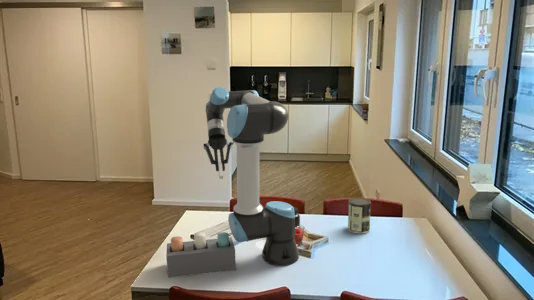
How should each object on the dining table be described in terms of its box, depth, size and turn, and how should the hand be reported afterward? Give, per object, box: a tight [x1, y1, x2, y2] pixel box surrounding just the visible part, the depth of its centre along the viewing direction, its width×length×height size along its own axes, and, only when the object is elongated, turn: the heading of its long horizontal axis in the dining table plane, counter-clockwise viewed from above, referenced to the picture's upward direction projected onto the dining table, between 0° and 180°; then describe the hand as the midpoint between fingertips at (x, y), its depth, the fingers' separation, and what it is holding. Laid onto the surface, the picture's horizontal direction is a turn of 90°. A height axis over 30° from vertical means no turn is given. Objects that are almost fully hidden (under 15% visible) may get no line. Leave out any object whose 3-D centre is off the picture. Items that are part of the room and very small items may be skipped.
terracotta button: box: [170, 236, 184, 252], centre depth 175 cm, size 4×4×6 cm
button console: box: [165, 236, 237, 278], centre depth 178 cm, size 26×11×9 cm, turn 101°
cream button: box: [193, 231, 207, 250], centre depth 176 cm, size 4×4×6 cm
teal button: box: [216, 231, 230, 248], centre depth 178 cm, size 4×4×6 cm
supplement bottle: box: [293, 206, 301, 227], centre depth 208 cm, size 7×7×12 cm
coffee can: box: [347, 197, 372, 234], centre depth 211 cm, size 10×10×14 cm
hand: (221, 177), depth 191 cm, fingers closed
